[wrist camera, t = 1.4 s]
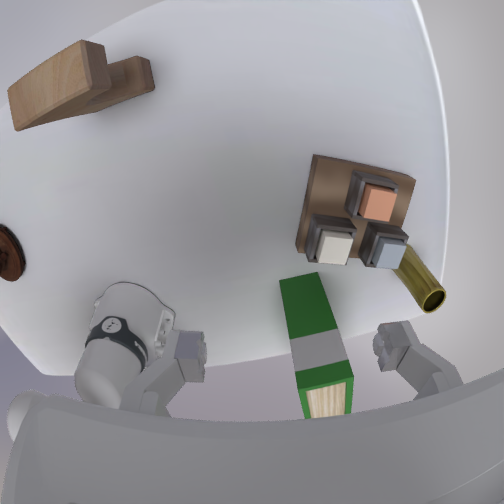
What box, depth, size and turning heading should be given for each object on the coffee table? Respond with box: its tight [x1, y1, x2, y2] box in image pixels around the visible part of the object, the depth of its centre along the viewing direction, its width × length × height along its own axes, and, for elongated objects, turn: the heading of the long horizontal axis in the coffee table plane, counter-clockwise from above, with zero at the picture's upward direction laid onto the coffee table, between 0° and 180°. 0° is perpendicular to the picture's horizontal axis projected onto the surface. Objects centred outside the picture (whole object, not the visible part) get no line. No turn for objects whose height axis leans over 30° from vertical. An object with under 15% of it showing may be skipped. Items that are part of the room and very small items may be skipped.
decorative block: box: [7, 40, 155, 132], centre depth 26 cm, size 11×6×20 cm, turn 99°
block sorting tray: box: [295, 154, 416, 269], centre depth 43 cm, size 16×18×7 cm
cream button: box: [315, 229, 353, 265], centre depth 42 cm, size 4×4×3 cm
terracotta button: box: [358, 182, 397, 222], centre depth 38 cm, size 4×4×3 cm
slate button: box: [371, 236, 407, 269], centre depth 43 cm, size 4×4×3 cm
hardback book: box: [279, 272, 354, 419], centre depth 47 cm, size 18×7×24 cm, turn 14°
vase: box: [392, 245, 446, 313], centre depth 46 cm, size 6×6×14 cm
